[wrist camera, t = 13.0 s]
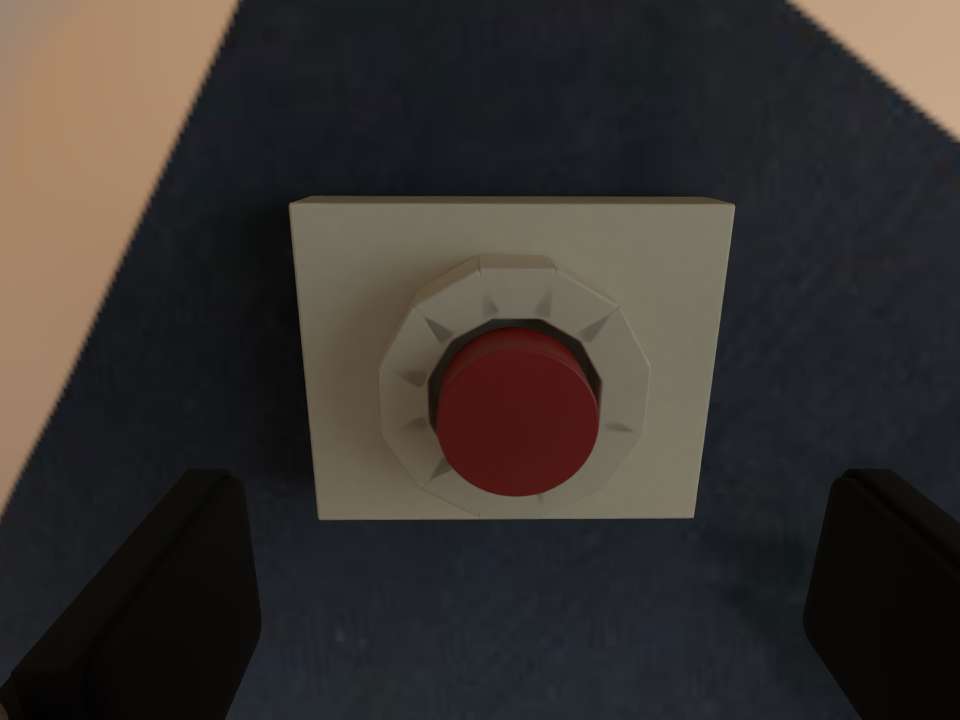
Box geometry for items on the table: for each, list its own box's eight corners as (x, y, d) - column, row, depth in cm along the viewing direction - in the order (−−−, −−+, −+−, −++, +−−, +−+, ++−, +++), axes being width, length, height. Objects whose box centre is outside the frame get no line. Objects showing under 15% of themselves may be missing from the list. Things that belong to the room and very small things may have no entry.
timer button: (441, 461, 16) (438, 498, 14) (438, 325, 15) (434, 349, 13) (582, 461, 16) (594, 497, 14) (590, 326, 15) (605, 349, 13)
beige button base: (333, 482, 20) (301, 560, 16) (309, 195, 17) (264, 210, 14) (671, 481, 20) (717, 558, 17) (705, 196, 17) (770, 211, 14)
